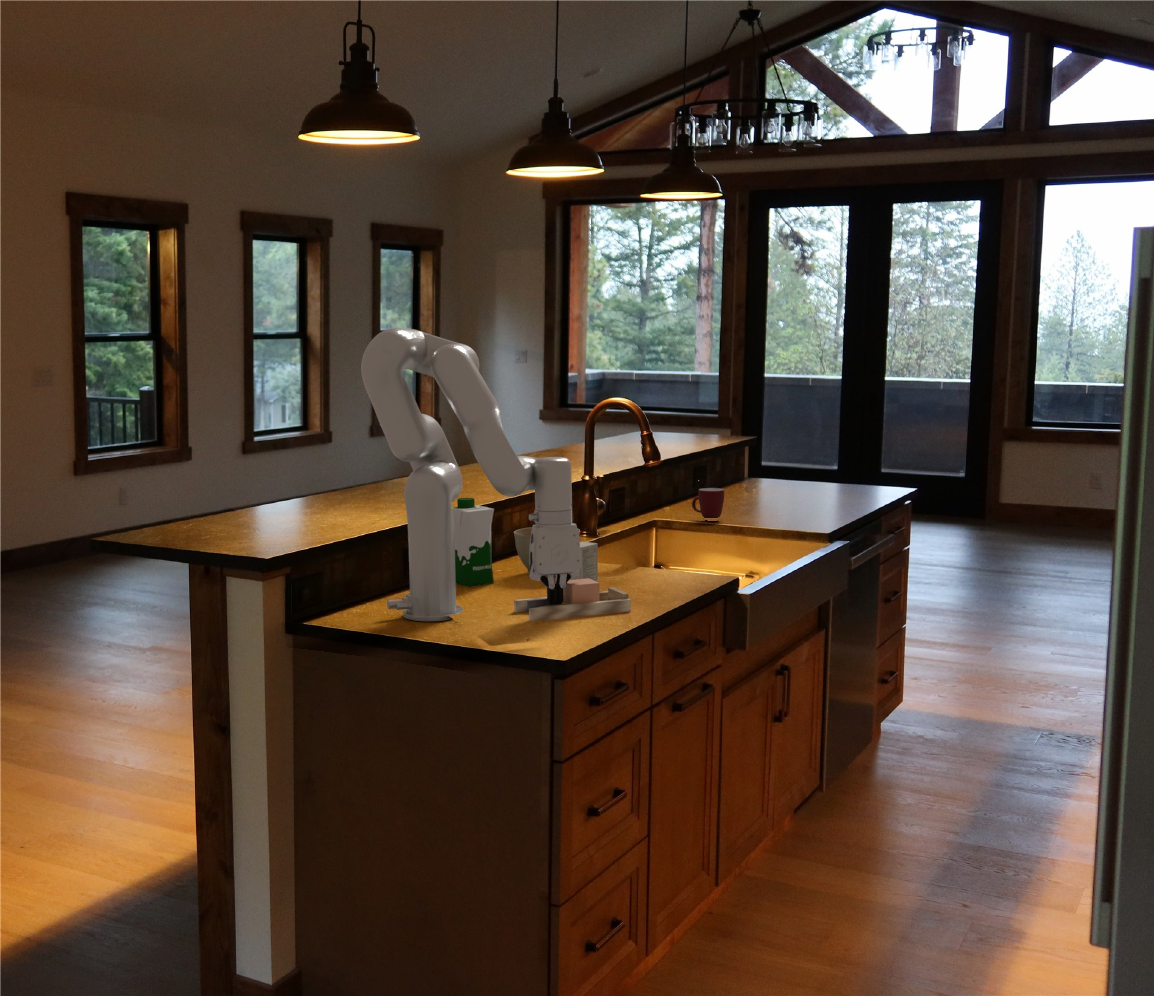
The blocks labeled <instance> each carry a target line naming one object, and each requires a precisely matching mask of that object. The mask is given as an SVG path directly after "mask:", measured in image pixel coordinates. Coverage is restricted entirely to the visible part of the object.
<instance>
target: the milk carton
mask: <svg viewBox="0 0 1154 996" xmlns="http://www.w3.org/2000/svg"><path fill="white" fill-rule="evenodd" d="M456 499H457V500H456V501H457V506H455V507H453V506H452V512H453V520H454V537H455V575H456V585H459V586H462V587H467V588H475V587H480V586H488V585H492V584H494V583H495V581H494V572H493V571H494V570H493V562H492V558H493V557H492V523H493V517H494V511H495V508H491V507H488V506H482V505H475V504H476V502H475V498H474V497H461V498H460V497H459V498H456Z"/></svg>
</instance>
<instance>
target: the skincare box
mask: <svg viewBox="0 0 1154 996" xmlns="http://www.w3.org/2000/svg"><path fill="white" fill-rule="evenodd" d="M580 549H581V569H580V570H579V571H580V575H579V576H577V577H574V578H571V579H570V580H577V579H587V578H589V579H592V580H594V581H596V582H598V583H599V569H598V568H599V564H598V561H599V560H598V559H599V558H598V555H599V554H598V550H599V549H598V543H596V542H591V541H589V542H588V541H580Z"/></svg>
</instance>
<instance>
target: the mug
mask: <svg viewBox="0 0 1154 996" xmlns="http://www.w3.org/2000/svg"><path fill="white" fill-rule="evenodd" d="M697 501H698V502H699V509H698V508H697V505H696V503H697ZM724 501H725V489H724V488H718V487H705V488H698V496H696V497H694V498H693V499H692V502H691V507H692V509H693V511H695V512H697V513H700V514H701V516H702V517H704V518H718V517H719V518H720V517H721V515H722V513H723V508H724V503H725V502H724ZM704 518H703V519H704Z"/></svg>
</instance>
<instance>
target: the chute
mask: <svg viewBox="0 0 1154 996" xmlns="http://www.w3.org/2000/svg"><path fill="white" fill-rule="evenodd" d="M599 596H600V601H598V602H588V603H578V604H572V603H569V604H563V602H562V604H559V605H549V603H548V602H547V596H543V597H542V596H541V597H540V596H539V597H533V598H523V599H522V598H521V599H520V598H519V599H514V600H513V606H514V607H513V611H514V613H517V614H518V613H526V612H527V613H528V616H529V617H528V620H529V622H540V621H541V622H542V621H549V620H550V621H551V620H558V619H567V618H568V619H569V618H579V617H580V618H581V617H586V616H587V617H588V616H599V615H607V614H616V613H617V614H618V613H625V612H632V599H631V598H629V593H628V592H625V591H623V590H621V589H619V588H616V587H614V586H611V587H607V590H605V591H604V590H602V591H599Z"/></svg>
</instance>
